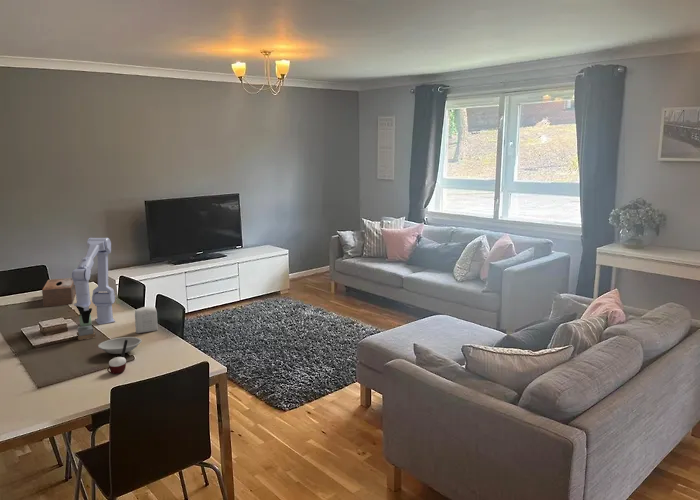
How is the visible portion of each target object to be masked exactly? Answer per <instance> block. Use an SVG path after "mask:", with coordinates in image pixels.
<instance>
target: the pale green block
mask: <svg viewBox="0 0 700 500" xmlns="http://www.w3.org/2000/svg"><path fill="white" fill-rule="evenodd" d="M78 319H79V320H78V321H79V327H85V326H90V325H92V324H93V323H92V315H91V314H90V318H89V323H85V324H84V323H83V320H82V316H81V315H80V314H79V317H78ZM92 326H93V325H92Z"/></svg>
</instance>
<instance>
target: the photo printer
mask: <svg viewBox="0 0 700 500" xmlns="http://www.w3.org/2000/svg"><path fill="white" fill-rule="evenodd" d="M134 321H135V322H134V325H135V333H136V334H142V333H148V332H149V333H150V332H155V331H158V312H157V308H156V307H155V306H143V307H142V306H141V307H140V308H137V309H135V310H134Z"/></svg>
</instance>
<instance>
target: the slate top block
mask: <svg viewBox="0 0 700 500" xmlns="http://www.w3.org/2000/svg"><path fill="white" fill-rule="evenodd" d="M93 331H94V327H93V325H90V326H85V327H82V326H78V327H77V332H78V333H79V336H83V335H89V334H94V333H95V331H94V332H93Z"/></svg>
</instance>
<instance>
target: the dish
mask: <svg viewBox="0 0 700 500" xmlns="http://www.w3.org/2000/svg"><path fill="white" fill-rule="evenodd" d="M125 340H128V342H127V346H126V351H125V353H128V352H131V351H133V350H134V349H135V348H137V347H138V345H140V344H141V343H142V341H143V340H142V338H139V337H136V336H125V337H124V336H123V337H117V338H111V339H108V340H104V341H102V342H100V343H98V345H97V348H98V349H101V350H102V351H103V352H105V353H107V354H110V355H111V354H112V355H118V354H119V355H122V351H123V346H124V342H125Z"/></svg>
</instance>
